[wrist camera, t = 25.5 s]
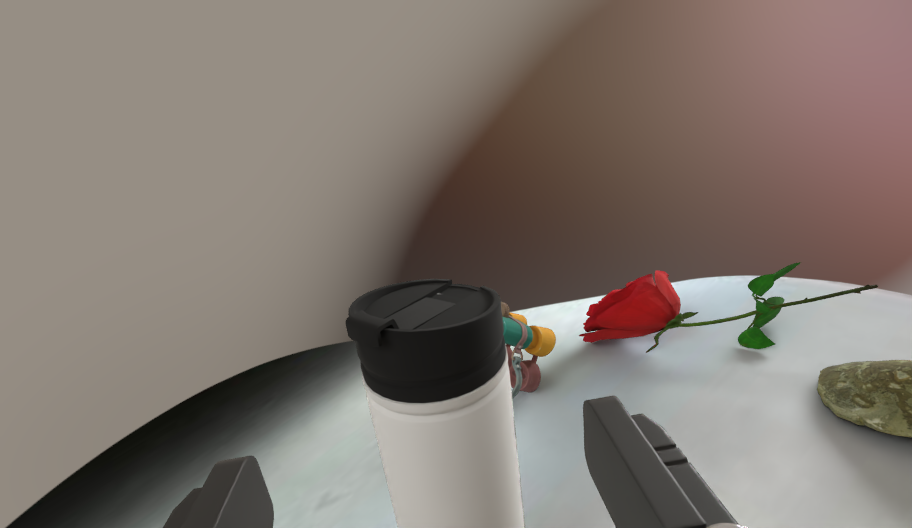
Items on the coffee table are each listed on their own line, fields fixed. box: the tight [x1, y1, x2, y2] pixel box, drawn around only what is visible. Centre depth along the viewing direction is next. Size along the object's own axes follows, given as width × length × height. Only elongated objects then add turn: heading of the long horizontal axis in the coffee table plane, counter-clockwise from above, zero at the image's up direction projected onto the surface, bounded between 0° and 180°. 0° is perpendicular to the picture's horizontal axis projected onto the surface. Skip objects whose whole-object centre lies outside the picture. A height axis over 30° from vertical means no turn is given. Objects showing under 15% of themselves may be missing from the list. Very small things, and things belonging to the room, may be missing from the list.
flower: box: [579, 263, 878, 353], centre depth 48 cm, size 9×10×30 cm
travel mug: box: [346, 279, 525, 528], centre depth 21 cm, size 6×7×20 cm
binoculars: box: [501, 302, 556, 399], centre depth 44 cm, size 9×9×10 cm
